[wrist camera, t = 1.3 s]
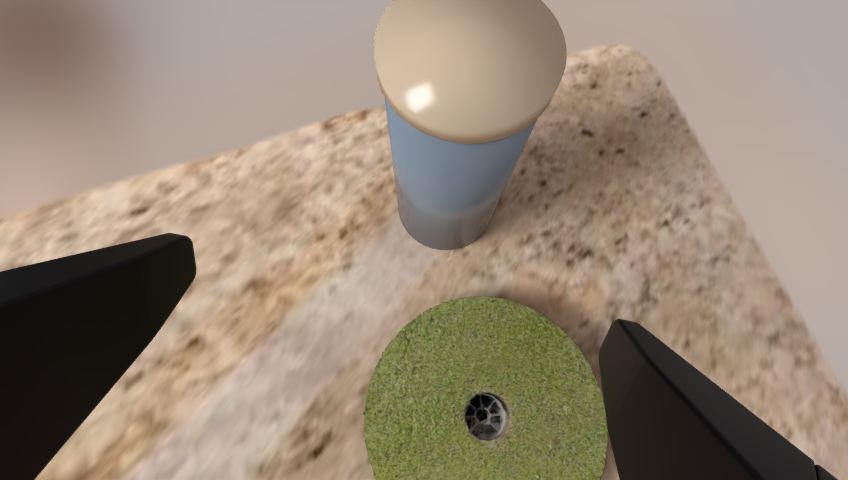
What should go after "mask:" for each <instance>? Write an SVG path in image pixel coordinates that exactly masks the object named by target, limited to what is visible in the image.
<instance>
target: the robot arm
mask: <svg viewBox="0 0 848 480" xmlns="http://www.w3.org/2000/svg"><path fill="white" fill-rule="evenodd" d="M195 275H196V263H195V256H194V249H193V243H192V241H191V239H190V238H189V237H188V236H184V235H178V234H173V233H167V234H163V235H158V236H154V237H149V238H145V239H141V240H136V241H132V242H128V243H123V244H119V245H115V246H110V247H106V248H102V249H97V250H93V251H89V252H84V253H80V254H76V255H71V256H67V257H62V258H58V259H54V260H49V261H45V262H41V263H36V264H32V265H28V266H23V267H19V268H15V269H10V270H6V271H2V272H0V480H35V478H36V477H37V476H38V475H39V474H40V472H41V471H42V470H43V469H44V468H45V467H46V465H47V464H48V463H49V462H50V461H51V459H52V458H53V457H54V456H55V455H56V454H57V452H58V451H59V450H60V449H61V448H62V446H63V445H64V444H65V443H66V442H67V440H68V439H69V438H70V437H71V436H72V435H73V433H74V432H75V431H76V430H77V429H78V427H79V426H80V425H81V424H82V423H83V422H84V420H85V419H86V418H87V417H88V416H89V414H90V413H91V412H92V411H93V410H94V408H95V407H96V406H97V405H98V404H99V403H100V401H101V400H102V399H103V398H104V397H105V395H106V394H107V393H108V392H109V391H110V390H111V388H112V387H113V386H114V385H115V384H116V382H117V381H118V380H119V379H120V378H121V377H122V375H123V374H124V373H125V372H126V371H127V369H128V368H129V367H130V366H131V365H132V363H133V362H134V361H135V360H136V359H137V358H138V356H139V355H140V354H141V353H142V352H143V350H144V349H145V348H146V347H147V346H148V344H149V343H150V342H151V341H152V339H153V338H154V337H155V336H156V334H157V333H158V331H159V330H160V329H161V327H162V326H163V324H164V323H165V322H166V320H167V319H168V317H169V316H170V314H171V313H172V311H173V310H174V308H175V307H176V305H177V304H178V302H179V301H180V300H181V298H182V297H183V295H184V294H185V292H186V291H187V289H188V288H189V286H190V285H191V283H192V282H193V280H194V278H195ZM599 365H600V373H601V381H602V389H603V397H604V405H605V413H606V420H607V427H608V432H609V437H610V441H611V445H612V449H613V453H614V458H615V462H616V466H617V470H618V474H619V478H620V480H838V479H836V478H835V477H834V476H832V475H831V474H830V473H829V472H827V471H826V470H825V469H824V468H822V467H821V466H820V465H815V464H814V461H813V460H812V459H811V458H809V457H808V456H807V455H806V454H804V453H803V452H802V451H800V450H799V449H798V448H797V447H795V446H794V445H793V444H791V443H790V442H789V441H788V440H786V439H785V438H784V437H783V436H781V435H780V434H779V433H777V432H776V431H775V430H774V429H772V428H771V427H770V426H769V425H767V424H766V423H765V422H763V421H762V420H761V419H760V418H758V417H757V416H756V415H754V414H753V413H752V412H751V411H749V410H748V409H747V408H746V407H744V406H743V405H742V404H740V403H739V402H738V401H737V400H735V399H734V398H733V397H732V396H730V395H729V394H728V393H726V392H725V391H724V390H723V389H721V388H720V387H719V386H718V385H716V384H715V383H714V382H712V381H711V380H710V379H709V378H707V377H706V376H705V375H703V374H702V373H701V372H700V371H698V370H697V369H696V368H695V367H693V366H692V365H691V364H689V363H688V362H687V361H686V360H684V359H683V358H682V357H681V356H679V355H678V354H677V353H675V352H674V351H673V350H672V349H670V348H669V347H668V346H667V345H665V344H664V343H663V342H661V341H660V340H659V339H658V338H656V337H655V336H654V335H653V334H651V333H650V332H649V331H647V330H646V329H645V328H644V327H642V326H641V325H640V324H638V323H636V322H632V321H627V320H622V319H617V320H615V321H614V322H613V323H612V325H611V326H610V329H609V331H608V333H607V335H606V337H605V340H604V342H603V344H602V346H601V348H600V352H599Z"/></svg>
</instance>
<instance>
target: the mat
mask: <svg viewBox="0 0 848 480" xmlns="http://www.w3.org/2000/svg"><path fill="white" fill-rule="evenodd" d="M364 415H365V422H364V425H365V432H364V435H365V437H366V440H365V442H366V447H367V452H368V457H369V460H370V463H371V466H373V472H374V476H375V479H376V480H600V479H601V478H600V476H601V475H602V473H603V468H604V465H605V458H606V453H605V452H606V451H607V441H608V437H607V433H608V431H607V425H606V423H607V420H606V413H605V406H604V405H603V398H602V393H601V390H600V388H599V386H598V385H597V380H596V378H595V374H593V373H592V368H591V366H590V364H589V363H588V362H587V360H586V358H585V356H584V355H583V354H582V352H581V350H580V349H579V347H578V346H577V345H576V344H575V342H573V341H572V338H570V337H569V336H568V335H567V334H566V333H565V332H564V331H563V330H562V329H561V328H560V327H559V326H556V324H555V323H553V322H552V321H550V320H549V319H548V318H547V317H545V316H544V315H542V314H540V313H539V312H537V311H535V310H534V309H531V308H528V307H526V306H524V305H522V304H520V303H516V302H513V301H511V300H507V299H504V298H497V297H487V296H481V297H466V298H460V299H454V300H450V301H448V302H443V303H441V304H439V305H437V306H435V307H433V308H430V309H428V310H427V311H425V312H423V315H422V314H420V315H419V316H417V317H416V318H415V319H414V320H413V321H412V322H410V323H408V324H407V325H406V326H405V327H403V329H402V331H400V332H399V333H398V334H397V336H396V337H395V338H394V339H393V340H392V341H391V342H390V343H389V345H388V346H387V348H386V349H385V352H383V354H382V357H381V359H380V360H379V362H378V364H377V366H376V368H375V370H374V373H373V376H372V379H371V383H370V386H369V389H368V393H367V399H366V407H365V411H364Z"/></svg>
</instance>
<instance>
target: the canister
mask: <svg viewBox="0 0 848 480" xmlns="http://www.w3.org/2000/svg"><path fill="white" fill-rule="evenodd" d="M374 56H375V63H376V70H377V77H378V82H379V85H380V88H381V90H382V93H383V94H384V97H385V104H386V112H387V120H388V128H389V137H390V145H391V153H392V161H393V169H394V177H395V185H396V193H397V201H398V209H399V215H400V219H401V221H402V224H403V226H404V227H405V229H406V231H407V232H408V233H409V234H410V235H411V236H412V237H413V238H414V239H415V240H417V241H418V242H419V243H421V244H423V245H425V246H428V247H430V248H434V249H439V250H453V249H458V248H462V247H464V246H467V245H469V244H470V243H472V242H474V241H475V240H476V239H477V238H478V237H479V236H480V235H481V234H482V233H483V232H484V230H485V229H486V227H487V225H488V223H489V221H490V219H491V217H492V215H493V212H494V210H495V208H496V206H497V204H498V202H499V200H500V197H501V195H502V193H503V191H504V189H505V187H506V185H507V182H508V180H509V178H510V176H511V174H512V172H513V170H514V167H515V165H516V163H517V161H518V159H519V157H520V155H521V152H522V150H523V148H524V146H525V144H526V142H527V140H528V137H529V135H530V133H531V131H532V129H533V127H534V125H535V122H536V120H537V118H538V117H539V116H540V115H541V114H542V113H543V112H544V111H545V109H546V108H547V107H548V105H549V103H550V101H551V99H552V97H553V95H554V93H555V91H556V89H557V87H558V85H559V83H560V81H561V79H562V76H563V73H564V70H565V65H566V44H565V38H564V35H563V32H562V29H561V27H560V25H559V23H558V21H557V19H556V18H555V16H554V15H553V13H552V12H551V10H550V9H549V8H548V7H547V6H546V5H545V4H544V3H543V2H542V1H541V0H394V1H393V2H392V3H391V4H390V5H389V6H388V8H387V9H386V10H385V12H384V13H383V15H382V17H381V19H380V21H379V23H378V26H377V29H376V33H375V39H374Z"/></svg>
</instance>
